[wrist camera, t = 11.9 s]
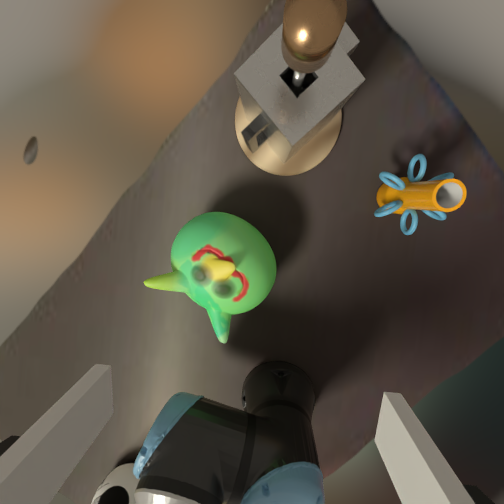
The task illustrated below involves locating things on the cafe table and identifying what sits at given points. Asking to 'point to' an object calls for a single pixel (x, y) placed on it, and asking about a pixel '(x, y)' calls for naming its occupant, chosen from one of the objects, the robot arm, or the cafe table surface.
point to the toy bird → (220, 267)
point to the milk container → (118, 486)
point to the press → (285, 102)
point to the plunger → (310, 37)
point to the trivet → (298, 162)
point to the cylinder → (418, 195)
